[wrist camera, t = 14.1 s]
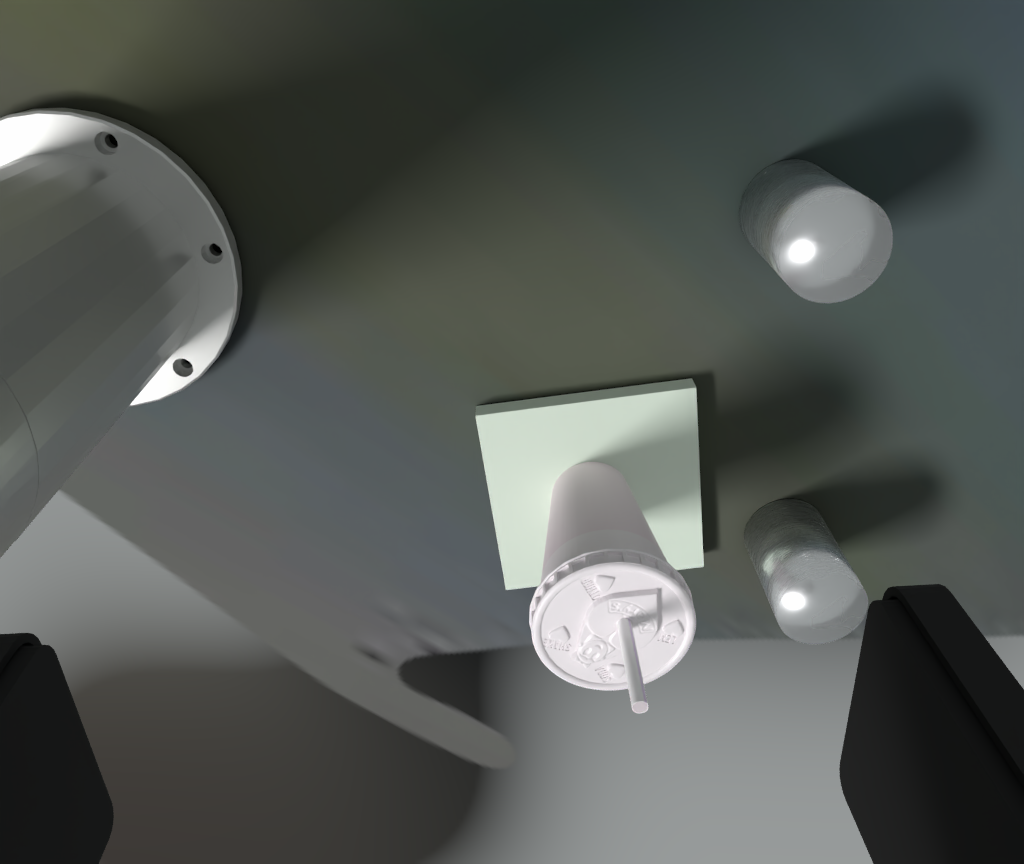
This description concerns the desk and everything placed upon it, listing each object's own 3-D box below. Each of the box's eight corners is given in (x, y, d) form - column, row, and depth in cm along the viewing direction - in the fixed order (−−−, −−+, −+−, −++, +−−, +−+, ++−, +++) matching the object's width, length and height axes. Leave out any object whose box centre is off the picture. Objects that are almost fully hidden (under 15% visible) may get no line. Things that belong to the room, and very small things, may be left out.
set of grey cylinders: (744, 568, 45) (776, 648, 40) (738, 166, 36) (779, 201, 30) (1107, 526, 44) (1189, 602, 39) (1199, 101, 35) (1325, 126, 30)
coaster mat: (505, 577, 45) (506, 590, 45) (475, 405, 41) (475, 415, 40) (699, 554, 45) (703, 566, 44) (691, 378, 40) (696, 387, 39)
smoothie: (685, 485, 42) (764, 704, 29) (596, 571, 44) (634, 808, 32) (583, 411, 40) (622, 611, 27) (495, 504, 42) (495, 729, 30)
